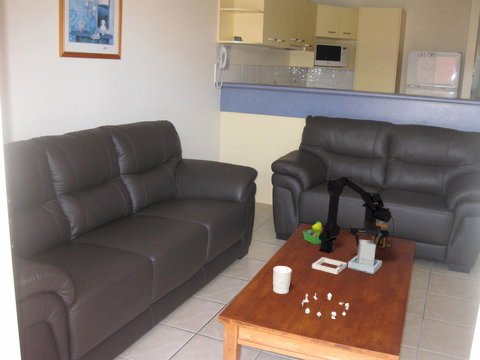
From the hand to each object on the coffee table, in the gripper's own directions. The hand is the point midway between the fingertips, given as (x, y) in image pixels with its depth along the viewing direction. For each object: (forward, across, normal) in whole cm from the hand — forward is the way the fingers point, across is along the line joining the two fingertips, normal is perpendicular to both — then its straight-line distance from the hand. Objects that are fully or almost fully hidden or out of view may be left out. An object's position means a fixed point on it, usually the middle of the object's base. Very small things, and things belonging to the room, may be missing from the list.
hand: (367, 247), depth 262 cm
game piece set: (+11, -23, -52) cm, 58 cm away
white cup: (+11, -41, -39) cm, 58 cm away
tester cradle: (+10, -18, -4) cm, 21 cm away
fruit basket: (+11, -24, +35) cm, 44 cm away
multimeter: (+11, +13, +39) cm, 43 cm away
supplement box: (+10, 0, 0) cm, 10 cm away
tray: (+10, 0, 0) cm, 10 cm away
